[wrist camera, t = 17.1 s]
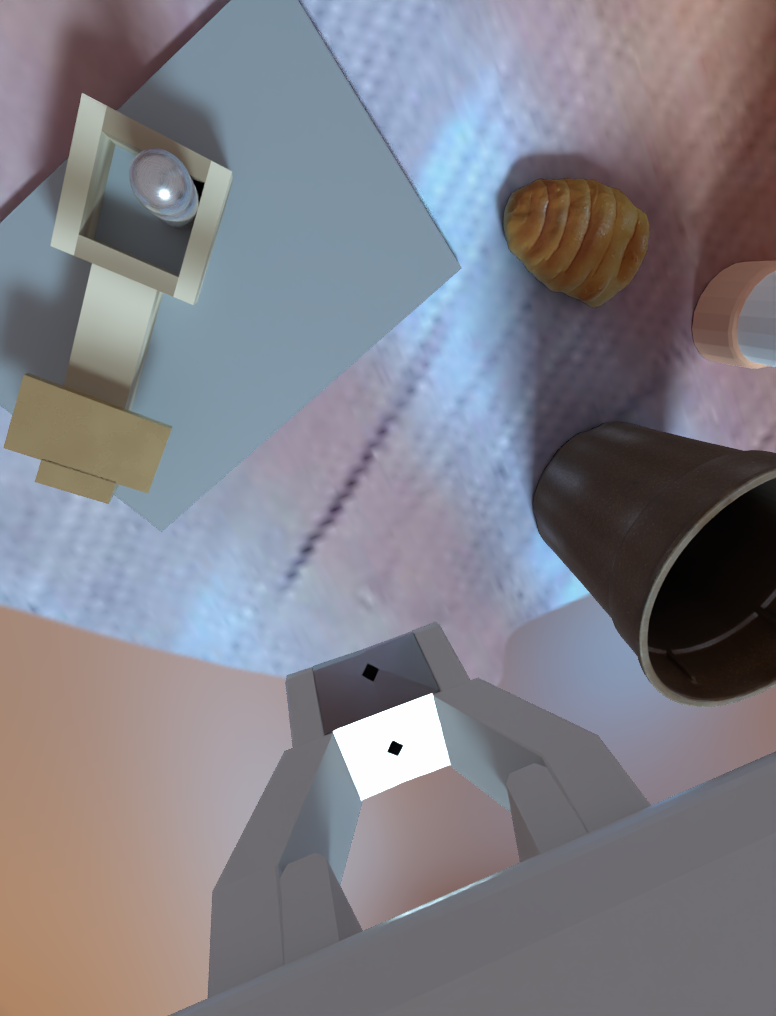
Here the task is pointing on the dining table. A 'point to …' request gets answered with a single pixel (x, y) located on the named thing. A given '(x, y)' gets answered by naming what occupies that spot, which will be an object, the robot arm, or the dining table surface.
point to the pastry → (577, 236)
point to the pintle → (164, 187)
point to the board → (237, 249)
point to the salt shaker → (738, 316)
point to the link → (125, 253)
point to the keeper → (84, 440)
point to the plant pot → (672, 553)
